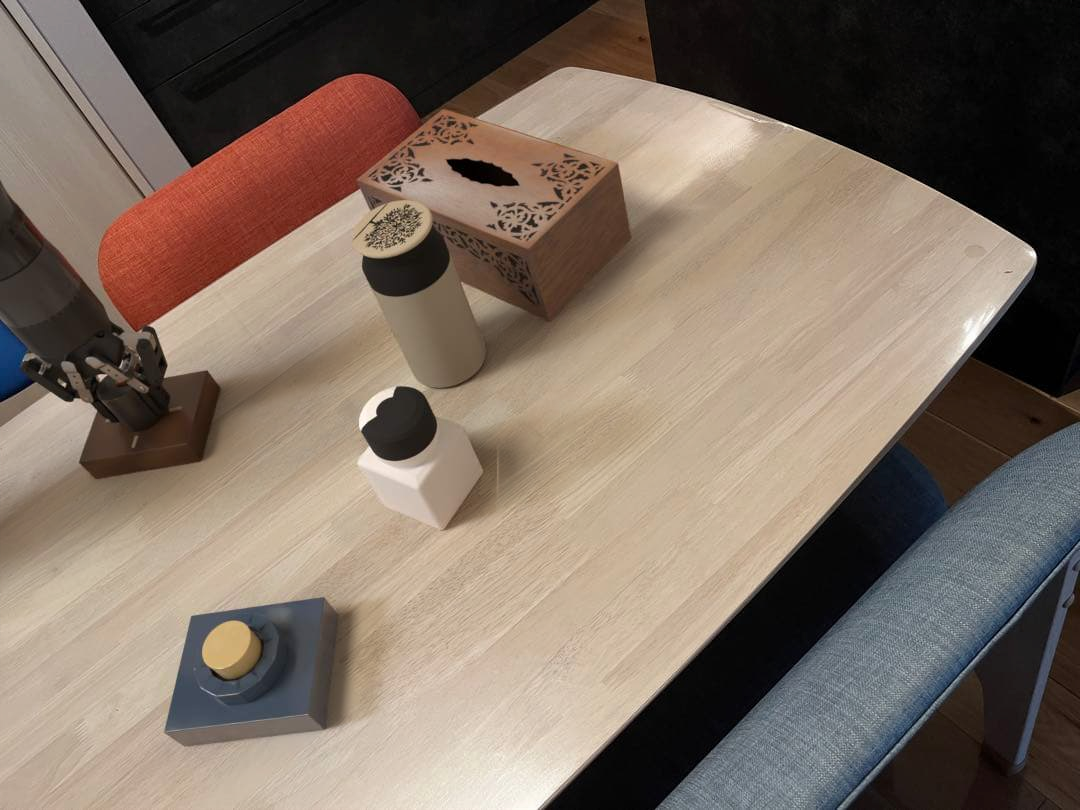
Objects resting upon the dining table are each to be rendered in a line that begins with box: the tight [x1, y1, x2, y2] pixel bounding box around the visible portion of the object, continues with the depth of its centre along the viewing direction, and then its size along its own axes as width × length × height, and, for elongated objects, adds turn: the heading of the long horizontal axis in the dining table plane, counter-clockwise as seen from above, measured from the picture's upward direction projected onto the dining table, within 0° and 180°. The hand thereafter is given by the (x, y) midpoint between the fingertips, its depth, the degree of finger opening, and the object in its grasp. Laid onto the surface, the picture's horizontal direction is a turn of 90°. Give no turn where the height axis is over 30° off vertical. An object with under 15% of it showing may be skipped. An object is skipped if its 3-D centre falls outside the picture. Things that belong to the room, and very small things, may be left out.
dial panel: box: [78, 369, 221, 480], centre depth 96 cm, size 12×10×3 cm
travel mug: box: [351, 200, 487, 389], centre depth 88 cm, size 8×8×18 cm
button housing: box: [163, 596, 339, 747], centre depth 74 cm, size 12×10×5 cm
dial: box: [96, 367, 161, 431], centre depth 93 cm, size 4×4×5 cm
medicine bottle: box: [357, 385, 484, 531], centre depth 80 cm, size 7×7×12 cm
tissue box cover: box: [356, 107, 632, 322], centre depth 101 cm, size 26×14×10 cm, turn 50°
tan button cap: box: [202, 621, 262, 679], centre depth 71 cm, size 4×4×2 cm
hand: (141, 411), depth 94 cm, fingers closed on dial, 4 cm apart
